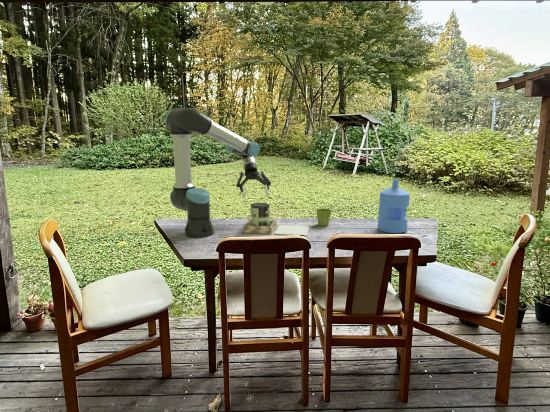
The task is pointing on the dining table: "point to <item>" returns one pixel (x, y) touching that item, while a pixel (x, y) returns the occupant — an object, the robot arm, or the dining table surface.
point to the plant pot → (323, 216)
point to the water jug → (393, 209)
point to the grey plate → (292, 230)
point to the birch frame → (259, 227)
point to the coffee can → (260, 214)
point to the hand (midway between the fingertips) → (256, 195)
